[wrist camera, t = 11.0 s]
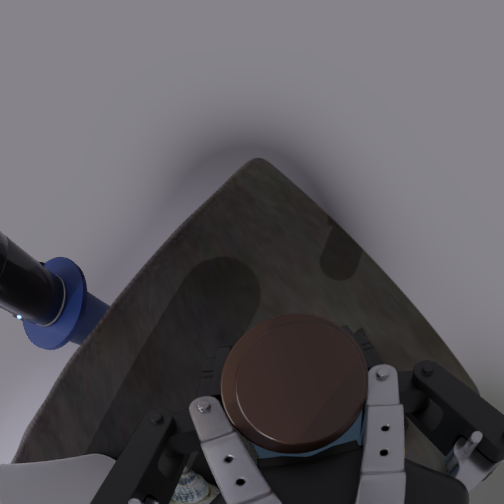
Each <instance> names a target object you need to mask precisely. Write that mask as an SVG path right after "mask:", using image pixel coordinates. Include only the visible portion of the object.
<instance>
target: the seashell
mask: <svg viewBox="0 0 504 504" xmlns="http://www.w3.org/2000/svg"><path fill="white" fill-rule="evenodd" d="M220 492H221V491H220V490H219V489H218V488H217V487H216V486H214V485H212V484H210V483H208V482H206V481H205V479H203V477H202V476H200V475H199V474H196V473H195V472H194V471H192V470H191V469H190V468H188V467H187V466H185V468H184V471H183V473H182V475H181V478H180V480H179V482H178V485H177V487H176V489H175V492H174V494H173V496H172V498H171V501H170V503H169V504H209V503H210V502H211V501H212V500H213V499H214V498H215V497H216V496H217V495H218V494H219V493H220Z"/></svg>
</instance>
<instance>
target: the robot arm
mask: <svg viewBox="0 0 504 504" xmlns="http://www.w3.org/2000/svg"><path fill="white" fill-rule="evenodd" d="M43 265H46V264H45V263H43V262H38V261H37V260H35V259H34V258H33V257H31V256H30V255H29V254H27V253H26V252H25V251H24V250H22V249H21V248H20V247H19V246H17V245H16V244H15V243H14V242H12V241H11V240H10V239H9V238H8V237H6V236H5V235H4V234H3V233H2V232H1V231H0V308H2V309H4V310H6V311H8V312H10V313H12V314H13V316H14V317H16V318H18V319H20V320H22V321H23V320H26V321H28V322H31V323H33V324H38V325H40V326H42V327H50V326H52V325H53V324H55V323H56V322H57V321H58V320H59V318H60V317H61V315H62V313H63V311H64V308H65V305H66V300H67V289H66V285H65V282H64V281H63V279H62V278H61V277H59V276H58V275H56V274H54V273H53V272H51V271H50V270H49V269H47V268H46V267H45V266H43ZM341 328H342V329H344V330H345V331H346V332H347V333H348V334H349V335H350V336H351V337H352V338H353V339H354V340H355V342H356V343H357V345H358V346H359V348H360V350H361V351H362V354H363V356H364V358H365V361H366V365H367V369H368V393H367V397H366V401H365V404H364V407H363V409H362V415H361V426H360V435H359V443H358V442H357V440H353V441H350V442H346V443H343V444H339V445H335V446H332V447H330V448H328V449H325V450H323V451H321V452H319V453H316V454H314V455H312V456H308V457H298V456H278V457H271V458H262V459H257V462H258V465H257V466H256V465H255V463H254V461H253V460H252V458H251V456H250V455H249V453H248V451H247V450H246V448H245V446H244V444H243V443H242V441H241V439H240V437H239V436H238V434H237V432H236V431H235V430H234V429H233V427H232V426H234V425H233V424H232V423H231V421H230V420H229V418H228V416H227V414H226V412H225V409H224V406H223V402H222V397H221V386H220V385H221V375H222V371H223V367H224V364H225V361H226V358H227V357H228V355H229V353H230V351H231V349H232V347H231V346H225V347H217V349H216V356H215V357H211V358H208V359H207V360H206V361H205V363H204V364H203V368H202V373H201V379H200V384H199V390H198V395H197V398H196V399H195V400H193V401H192V402H191V404H190V405H189V408H188V409H186V410H184V411H181V412H177V413H173V414H171V412H170V411H169V410H167V409H165V408H155V409H152V410H150V411H148V412H147V413H146V414H145V415H144V417H143V419H142V420H141V422H140V423H139V425H138V427H137V428H136V430H135V431H134V433H133V435H132V436H131V438H130V439H129V441H128V443H127V444H126V446H125V448H124V449H123V451H122V452H121V454H120V456H119V457H118V459H117V460H116V462H115V464H114V465H113V467H112V469H111V470H110V472H109V473H108V475H107V477H106V478H105V480H104V482H103V483H102V485H101V486H100V488H99V490H98V491H97V493H96V495H95V496H94V498H93V499H92V501H91V503H90V504H169V503H170V501H171V498H172V496H173V494H174V492H175V489H176V487H177V485H178V482H179V480H180V478H181V475H182V473H183V471H184V468H185V466H186V464H187V461H188V459H189V456H190V454H191V453H192V452H195V451H199V450H203V453H204V455H205V457H206V460H207V462H208V465H209V467H210V469H211V472H212V474H213V476H214V478H215V480H216V483H217V485H218V487H219V489H220V491H221V492H220V493H219V494H218V495H217V496H216V497H215V498H214V499H213V500H212V501H211V502H210V503H209V504H469V493H470V492H471V491H472V490H473V489H474V488H475V487H476V486H477V485H478V484H479V483H480V482H482V481H484V480H485V479H486V478H487V477H488V476H489V475H490V474H491V473H492V472H493V471H494V470H495V469H496V468H497V467H498V466H499V465H500V464H501V463H502V462H503V461H504V415H503V414H502V413H501V412H499V411H498V410H497V409H495V408H494V407H493V406H492V405H490V404H489V403H488V402H487V401H485V400H484V399H483V398H481V397H480V396H479V395H478V394H476V393H475V392H474V391H472V390H471V389H470V388H469V387H467V386H466V385H465V384H463V383H462V382H461V381H460V380H458V379H457V378H456V377H454V376H453V375H452V374H450V373H449V372H448V371H446V370H445V369H444V368H442V367H441V366H440V365H439V364H437V363H436V362H433V361H428V360H426V361H421V362H419V363H417V364H416V365H415V367H414V370H413V371H403V372H398V371H396V370H395V368H393V367H392V366H390V365H386V364H384V363H383V361H382V360H381V358H380V357H379V355H378V354H377V353H376V351H375V350H374V348H373V347H372V345H371V344H370V342H369V341H368V339H367V338H366V336H364V335H362V334H360V333H359V332H357V333H352V331H351V330H350V328H349V327H348V326H342V327H341ZM404 414H405V415H406V416H407V417H408V418H409V419H410V420H411V421H412V422H413V423H414V424H415V425H416V426H417V427H418V429H419V430H420V431H421V432H422V433H423V434H424V435H425V436H426V437H427V438H428V439H429V440H430V441H431V442H432V443H433V444H434V445H435V446H436V447H437V448H438V449H439V450H440V451H441V452H442V453H443V454H444V455H445V456H446V459H445V467H446V470H447V473H449V475H450V476H449V475H446V474H443V473H440V472H437V471H435V470H432V469H430V468H427V467H424V466H422V465H420V464H417V463H415V462H412V461H410V460H408V459H405V458H404Z"/></svg>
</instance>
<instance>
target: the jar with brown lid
mask: <svg viewBox="0 0 504 504" xmlns="http://www.w3.org/2000/svg"><path fill="white" fill-rule="evenodd" d="M220 386H221V397H222V402H223V406H224V409H225V412H226V414H227V416H228V418H229V420H230V421H231V423H232V424H233V425H234V427H235V428H236V429H237V430H238V431H239V433H240V434H241V435H242V436H244V437H245V438H246V439H247V440H249V441H250V442H252V443H253V444H255V445H257V446H259V447H261V448H263V449H266V450H269V451H273V452H276V453H283V454H300V453H307V452H311V451H315V450H318V449H321V448H323V447H325V446H327V445H329V444H331V443H333V442H334V441H336V440H337V439H339V438H340V437H341V436H343V435H344V434H345V433H346V432H347V431H348V430H349V429H350V428H351V426H352V425H353V424H354V423H355V421H356V420H357V418H358V417H359V415H360V413H361V411H362V409H363V407H364V404H365V401H366V397H367V393H368V369H367V365H366V361H365V358H364V356H363V354H362V351H361V350H360V348H359V346H358V345H357V343H356V342H355V340H354V339H353V338H352V337H351V336H350V335H349V334H348V333H347V332H346V331H345V330H344V329H342V328H341V327H340V326H338V325H337V324H335V323H333V322H331V321H330V320H327V319H324V318H322V317H319V316H315V315H310V314H285V315H280V316H276V317H273V318H270V319H267V320H265V321H263V322H261V323H259V324H257V325H256V326H254V327H253V328H251V329H250V330H248V331H247V332H246V333H245V334H244V335H243V336H242V337H241V338H240V339H239V340H238V341H237V342H236V344H235V345H234V346H233V348H232V349H231V351H230V353H229V355H228V357H227V358H226V361H225V364H224V367H223V371H222V375H221V385H220Z"/></svg>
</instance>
